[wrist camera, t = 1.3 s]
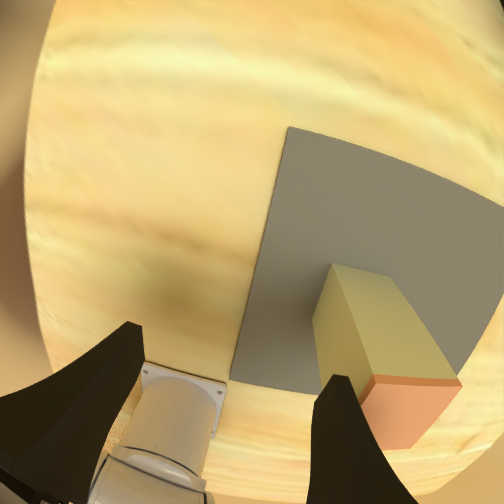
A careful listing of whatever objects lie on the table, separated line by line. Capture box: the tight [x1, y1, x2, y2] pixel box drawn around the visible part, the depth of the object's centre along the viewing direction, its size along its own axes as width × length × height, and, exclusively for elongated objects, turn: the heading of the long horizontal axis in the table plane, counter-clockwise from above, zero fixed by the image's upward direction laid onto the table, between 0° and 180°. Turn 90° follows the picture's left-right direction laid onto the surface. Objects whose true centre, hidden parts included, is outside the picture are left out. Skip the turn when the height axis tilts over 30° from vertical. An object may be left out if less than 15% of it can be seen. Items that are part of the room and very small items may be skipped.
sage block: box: [312, 263, 463, 450], centre depth 15 cm, size 4×4×11 cm
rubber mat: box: [229, 126, 504, 395], centre depth 20 cm, size 20×22×1 cm
